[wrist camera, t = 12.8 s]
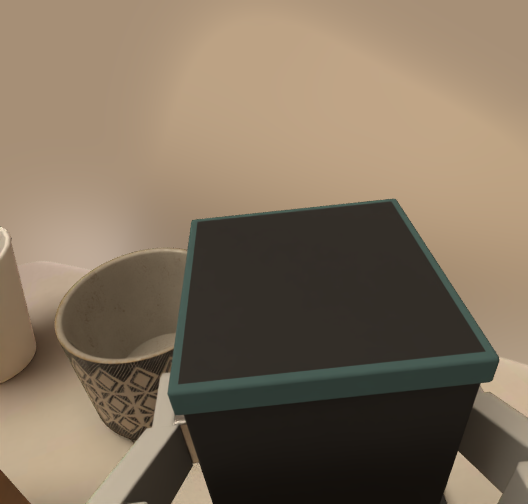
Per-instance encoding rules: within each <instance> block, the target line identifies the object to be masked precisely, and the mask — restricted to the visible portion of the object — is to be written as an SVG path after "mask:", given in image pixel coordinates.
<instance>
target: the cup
mask: <svg viewBox="0 0 528 504" xmlns="http://www.w3.org/2000/svg"><path fill="white" fill-rule="evenodd" d="M11 239H12V238H11V236H10V235H9V233H8V231H7V230H6V229H4V228H2V227H1V226H0V383H3V382H5V381H7V380H9V379H10V378H12V377H14V376H15V375H17V374H18V373H19V372H21V371H22V370H23V369H24V368H25V367H26V366H27V365H28V364H29V363H30V361H31V360H32V358H33V357H34V354H35V351H36V341H35V337H34V333H33V329H32V325H31V321H30V317H29V313H28V309H27V304H26V300H25V296H24V292H23V288H22V284H21V280H20V276H19V272H18V268H17V264H16V260H15V256H14V252H13V248H12V244H11Z"/></svg>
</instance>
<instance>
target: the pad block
mask: <svg viewBox="0 0 528 504" xmlns="http://www.w3.org/2000/svg"><path fill="white" fill-rule="evenodd" d="M498 363H499V356H498V355H497V354H496V352H495V350H494V349H493V347H492V346H491V344H490V343H489V341H488V340H487V338H486V337H485V335H484V334H483V332H482V330H481V329H480V327H479V326H478V324H477V323H476V321H475V320H474V318H473V317H472V315H471V314H470V312H469V310H468V309H467V307H466V306H465V304H464V303H463V301H462V300H461V298H460V297H459V295H458V294H457V292H456V291H455V289H454V288H453V286H452V284H451V283H450V282H449V280H448V278H447V277H446V275H445V274H444V272H443V271H442V269H441V268H440V266H439V264H438V263H437V261H436V260H435V258H434V257H433V255H432V254H431V252H430V251H429V249H428V248H427V246H426V245H425V243H424V242H423V240H422V238H421V237H420V235H419V234H418V232H417V231H416V229H415V228H414V226H413V225H412V223H411V221H410V220H409V218H408V217H407V215H406V214H405V212H404V211H403V209H402V208H401V206H400V205H399V203H398V201H397V200H396V199H386V200H376V201H367V202H358V203H348V204H339V205H329V206H320V207H310V208H301V209H292V210H283V211H272V212H263V213H253V214H245V215H235V216H225V217H216V218H207V219H197V220H192V222H191V229H190V236H189V243H188V250H187V257H186V264H185V271H184V279H183V286H182V293H181V300H180V307H179V314H178V321H177V328H176V336H175V343H174V350H173V357H172V364H171V371H170V378H169V385H168V393H167V394H168V397H169V400H170V403H171V406H172V409H173V411H174V414H175V415H184V418H185V421H186V424H187V427H188V430H189V433H190V436H191V439H192V442H193V445H194V448H195V451H196V454H197V457H198V460H199V463H200V466H201V469H202V472H203V475H204V478H205V481H206V484H207V487H208V490H209V493H210V496H211V499H212V502H213V504H440V502H441V499H442V496H443V493H444V490H445V487H446V484H447V481H448V478H449V475H450V473H451V470H452V467H453V464H454V461H455V458H456V455H457V452H458V449H459V446H460V443H461V440H462V437H463V434H464V431H465V428H466V425H467V422H468V419H469V416H470V413H471V410H472V407H473V404H474V401H475V398H476V396H477V393H478V390H479V387H480V384H481V383H486V382H490V381H492V380H493V377H494V374H495V372H496V369H497V366H498Z"/></svg>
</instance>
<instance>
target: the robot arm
mask: <svg viewBox="0 0 528 504" xmlns="http://www.w3.org/2000/svg"><path fill="white" fill-rule="evenodd" d="M169 378H170V372H169V373H162V375H161V378H160V382H159V388H158V394H157V400H156V406H155V412H154V418H153V424H152V428H146V430H145V431H144V432H143V433H142V435H141V436H140V437H139V438H138V440H137V441H136V442H135V443H134V444H133V446H132V447H131V448H130V449H129V451H128V452H127V453H126V454H125V456H124V457H123V458H122V459H121V460H120V462H119V463H118V464H117V465H116V467H115V468H114V469H113V470H112V472H111V473H110V474H109V475H108V476H107V478H106V479H105V480H104V481H103V483H102V484H101V485H100V486H99V488H98V489H97V490H96V491H95V493H94V494H93V495H92V496H91V497H90V499H89V500H88V501H87V502H86V504H171V503H172V501H173V499H174V497H175V496H176V494H177V492H178V490H179V489H180V487H181V485H182V484H183V482H184V480H185V478H186V477H187V475H188V473H189V471H190V470H191V468H192V466H193V464H192V463H199V460H198V457H197V454H196V451H195V448H194V445H193V442H192V439H191V436H190V433H189V430H188V427H187V424H186V421H185V418H184V415H175V414H174V411H173V409H172V406H171V403H170V400H169V397H168V394H167V393H168V385H169ZM458 451H459V452H460V453H461V454H462V455H463V456H464V457H465V458H466V459H467V460H468V461H469V462H470V463H471V464H472V465H474V466H475V467H476V468H477V469H478V470H479V471H480V472H481V473H482V474H483V475H484V476H485V477H486V478H487V479H488V480H489V481H490V482H491V483H492V484H493V485H494V486H495V487H497V488H498V489H499V490H500V491H501V492H502V493H503V494H502V496H501V498H500V500H499V502H498V504H528V418H527V417H526V416H524V415H523V414H522V413H520V412H519V411H517V410H516V409H514V408H513V407H511V406H510V405H508V404H507V403H505V402H504V401H502V400H501V399H499V398H498V397H497V396H495V395H494V394H492V393H491V392H484V391H483V389H482V388H481V386H480V387H479V390H478V393H477V396H476V398H475V401H474V404H473V407H472V410H471V413H470V416H469V419H468V422H467V425H466V428H465V431H464V434H463V437H462V440H461V443H460V446H459V449H458Z"/></svg>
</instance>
